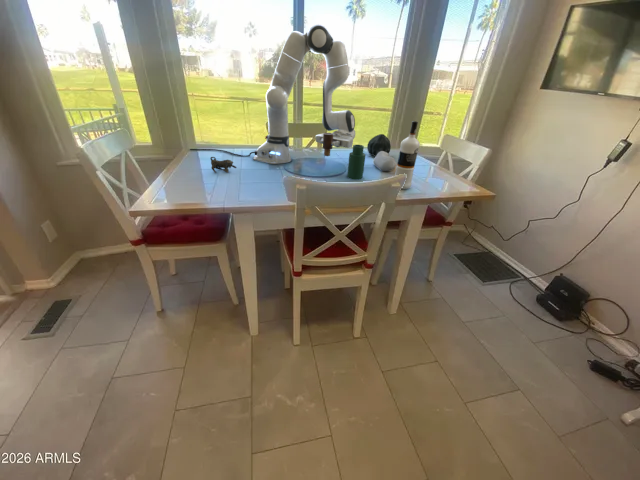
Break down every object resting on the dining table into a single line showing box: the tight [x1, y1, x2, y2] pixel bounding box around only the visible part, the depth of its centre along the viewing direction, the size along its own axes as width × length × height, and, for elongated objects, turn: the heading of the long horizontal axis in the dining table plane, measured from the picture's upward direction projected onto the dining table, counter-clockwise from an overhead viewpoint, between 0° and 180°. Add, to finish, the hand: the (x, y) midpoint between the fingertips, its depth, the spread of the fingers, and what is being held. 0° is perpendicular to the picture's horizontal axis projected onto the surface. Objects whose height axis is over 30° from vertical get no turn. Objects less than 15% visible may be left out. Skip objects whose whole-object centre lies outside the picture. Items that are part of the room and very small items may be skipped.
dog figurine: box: [209, 156, 237, 174], centre depth 139 cm, size 12×6×7 cm, turn 94°
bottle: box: [346, 144, 366, 181], centre depth 139 cm, size 8×8×16 cm
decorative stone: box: [372, 151, 396, 172], centre depth 156 cm, size 17×10×10 cm
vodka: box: [394, 120, 421, 190], centre depth 126 cm, size 9×9×30 cm
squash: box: [366, 133, 392, 157], centre depth 177 cm, size 14×15×15 cm
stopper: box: [322, 132, 334, 157], centre depth 142 cm, size 5×5×11 cm
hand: (327, 143), depth 141 cm, fingers closed on stopper, 5 cm apart
